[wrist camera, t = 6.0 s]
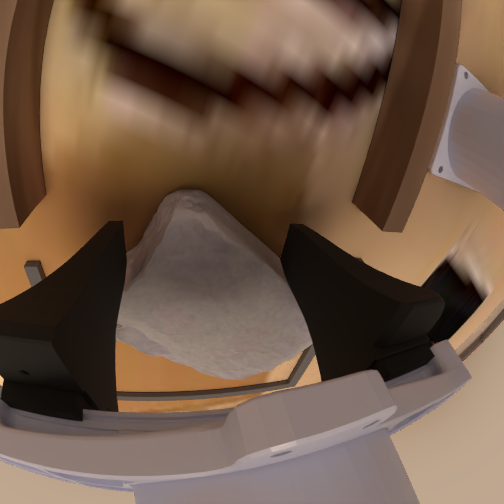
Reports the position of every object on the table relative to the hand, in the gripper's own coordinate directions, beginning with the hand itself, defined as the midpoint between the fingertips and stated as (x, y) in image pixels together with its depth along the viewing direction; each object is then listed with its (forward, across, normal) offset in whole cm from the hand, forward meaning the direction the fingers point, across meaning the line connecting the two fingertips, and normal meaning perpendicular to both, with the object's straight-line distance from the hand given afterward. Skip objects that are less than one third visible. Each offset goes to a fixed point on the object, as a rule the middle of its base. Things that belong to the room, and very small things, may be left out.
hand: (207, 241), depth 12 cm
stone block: (+2, 0, +5) cm, 6 cm away
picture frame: (+3, -68, +28) cm, 73 cm away
